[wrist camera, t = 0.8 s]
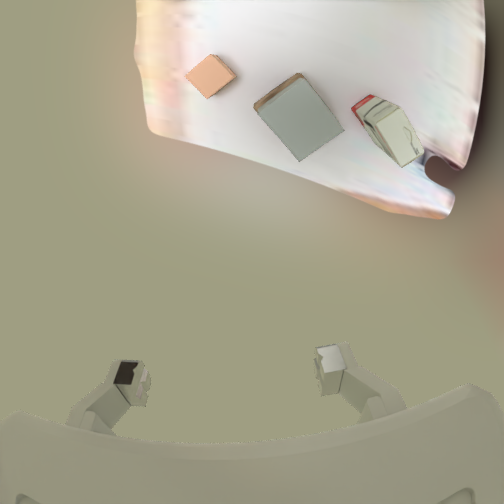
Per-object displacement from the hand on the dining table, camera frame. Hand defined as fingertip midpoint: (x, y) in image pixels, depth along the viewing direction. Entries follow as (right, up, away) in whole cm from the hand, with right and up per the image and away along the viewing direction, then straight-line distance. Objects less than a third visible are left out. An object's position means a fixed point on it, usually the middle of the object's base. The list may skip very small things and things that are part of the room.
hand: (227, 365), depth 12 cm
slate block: (+8, +26, +25) cm, 37 cm away
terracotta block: (-5, +34, +26) cm, 43 cm away
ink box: (+22, +28, +29) cm, 46 cm away
